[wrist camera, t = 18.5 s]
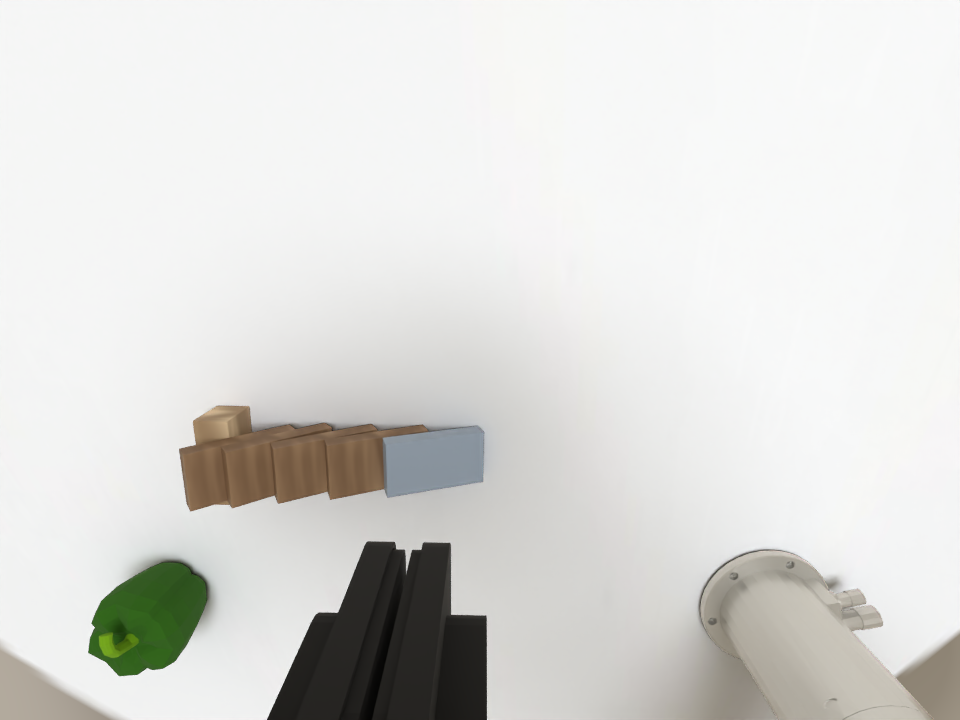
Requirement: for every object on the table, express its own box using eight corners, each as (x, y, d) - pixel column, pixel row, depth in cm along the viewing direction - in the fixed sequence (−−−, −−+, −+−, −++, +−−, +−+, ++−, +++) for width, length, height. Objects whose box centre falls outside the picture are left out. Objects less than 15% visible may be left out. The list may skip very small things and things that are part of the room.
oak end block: (249, 406, 46) (227, 421, 42) (257, 483, 48) (236, 504, 44) (217, 405, 46) (192, 420, 42) (226, 483, 48) (203, 504, 44)
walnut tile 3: (331, 427, 45) (225, 452, 40) (334, 476, 46) (232, 508, 41) (324, 422, 46) (220, 446, 41) (327, 470, 48) (227, 500, 42)
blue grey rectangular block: (484, 431, 45) (385, 444, 42) (482, 481, 46) (387, 497, 43) (477, 425, 46) (382, 437, 43) (477, 474, 48) (384, 489, 44)
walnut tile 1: (428, 430, 45) (326, 446, 41) (428, 480, 46) (330, 499, 42) (422, 424, 46) (324, 439, 43) (423, 472, 48) (327, 491, 44)
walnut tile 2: (377, 429, 45) (273, 449, 40) (379, 478, 46) (278, 503, 42) (371, 423, 46) (269, 442, 42) (373, 472, 48) (274, 495, 43)
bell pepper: (213, 627, 52) (151, 715, 42) (136, 607, 52) (55, 691, 42) (227, 561, 50) (164, 638, 40) (147, 540, 50) (65, 612, 40)
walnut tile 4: (295, 429, 45) (182, 455, 39) (299, 479, 46) (190, 511, 40) (289, 424, 46) (179, 448, 40) (293, 473, 47) (186, 503, 41)
